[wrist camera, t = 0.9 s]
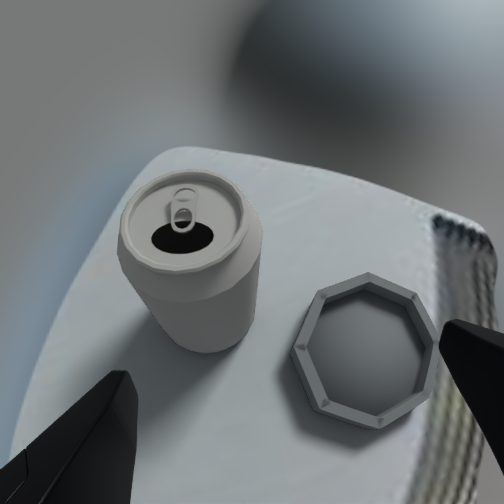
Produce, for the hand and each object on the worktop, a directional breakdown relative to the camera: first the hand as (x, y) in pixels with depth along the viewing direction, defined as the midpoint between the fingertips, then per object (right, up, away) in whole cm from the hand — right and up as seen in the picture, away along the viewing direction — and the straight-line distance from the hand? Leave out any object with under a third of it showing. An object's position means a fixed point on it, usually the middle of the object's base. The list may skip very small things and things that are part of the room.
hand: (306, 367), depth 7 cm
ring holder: (+8, -5, +14) cm, 17 cm away
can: (-5, -2, +16) cm, 17 cm away
